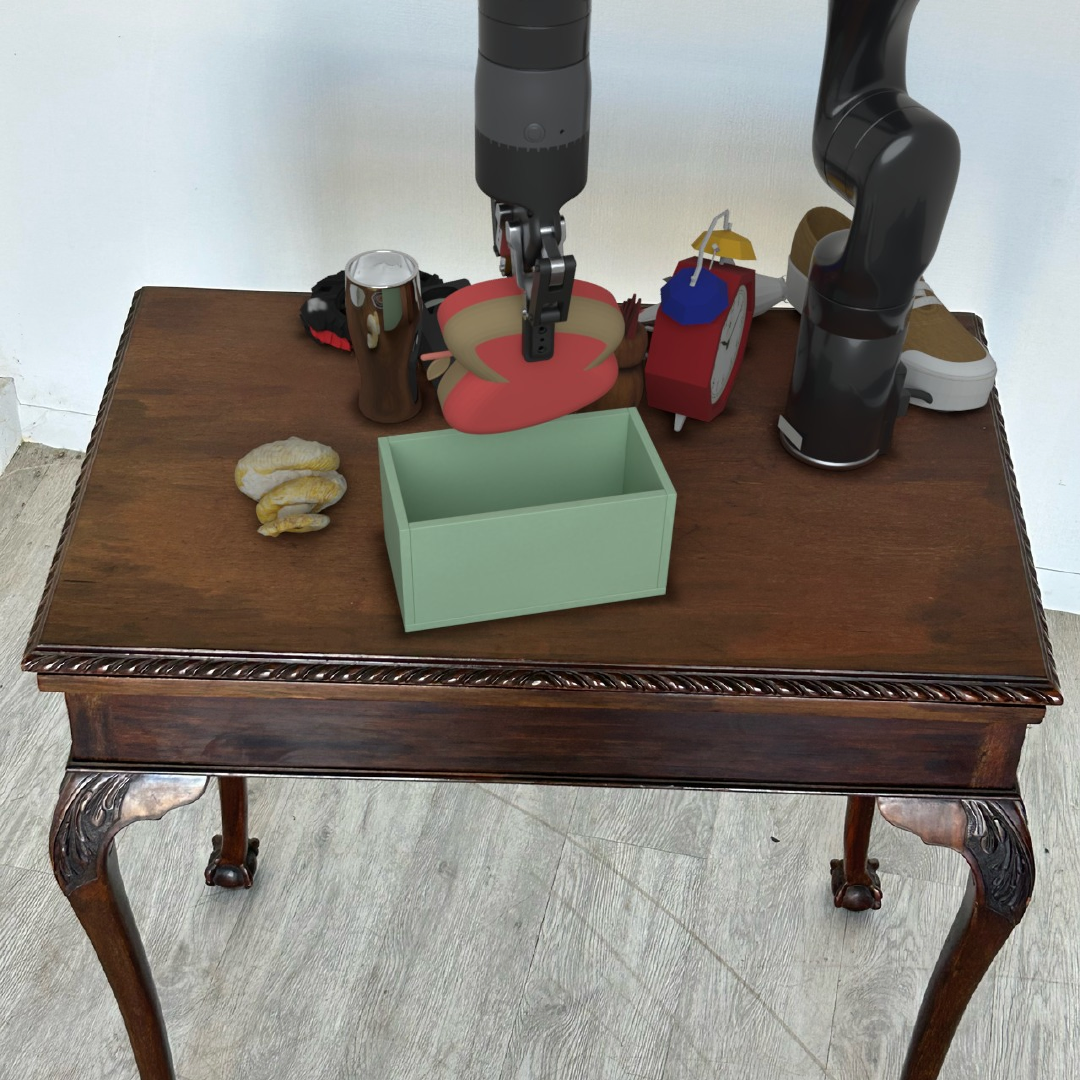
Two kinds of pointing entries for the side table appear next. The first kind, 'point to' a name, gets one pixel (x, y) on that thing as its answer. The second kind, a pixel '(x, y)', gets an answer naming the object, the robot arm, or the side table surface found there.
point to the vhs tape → (436, 321)
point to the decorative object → (521, 358)
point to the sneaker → (910, 329)
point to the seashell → (291, 484)
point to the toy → (336, 310)
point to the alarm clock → (701, 328)
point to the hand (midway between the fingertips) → (528, 338)
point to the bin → (525, 518)
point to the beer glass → (385, 332)
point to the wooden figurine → (626, 364)
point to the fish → (766, 296)
